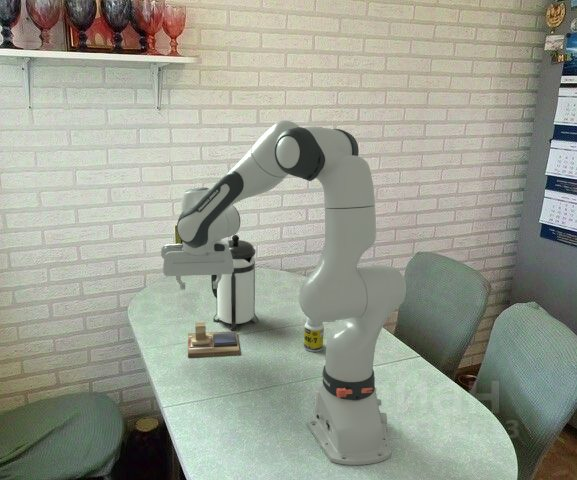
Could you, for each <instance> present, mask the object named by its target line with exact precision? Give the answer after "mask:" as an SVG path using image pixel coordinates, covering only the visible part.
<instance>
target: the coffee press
mask: <svg viewBox="0 0 577 480" xmlns="http://www.w3.org/2000/svg"><path fill="white" fill-rule="evenodd" d="M228 242H229V249H230V251H231V254H232V258H233V265H234V271H233V273H232V274H222V278H221V280H220V281H219V283H218V288H217V289H213V281H216V279H217V275H210V278H211V281H210V283H211V290H212V294H213V296H214V298H215V299H216V314H214V316H213V322H218V321H221V322H223V323H226V324H231V327H230V330H231V331H237V330H236V329H237V328H236V327H237V325H239V324H245V323H247V322H249V321H251V322H253V323H254V324H255V323H256V324H257V323H258V322H259V317H258V316H257V315H256V313H255V312H256V311H255V310H256V308H255V307H256V306H255V304H256V297H255V296H256V287H255V286H256V261H255V255H256V249H255V247H254V245H253V244H252V243H251V242H249V241H246V240H240V236H239V235H237V234H235V235H232V236H231V240H228ZM216 316H217V319H215V318H216ZM253 317H254V318H255V319H256V320H255V319H253Z"/></svg>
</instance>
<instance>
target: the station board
mask: <svg viewBox="0 0 577 480" xmlns="http://www.w3.org/2000/svg"><path fill="white" fill-rule="evenodd" d="M206 333H209V338H210V344H209V345H205V346H193V345H192V334H196V332H190V333H187V357H188V358H198V357H213V356H215V357H216V356H217V357H219V356H230V355H231V356H234V355H240V353H241V351H240V345H239V340H238V333H237V330H235V331H232V330H231V331H212V332H211V331H209V332H207V331H206Z"/></svg>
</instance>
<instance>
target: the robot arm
mask: <svg viewBox="0 0 577 480" xmlns="http://www.w3.org/2000/svg"><path fill="white" fill-rule="evenodd" d="M359 149H360V148H359V144H358V142H357V140H356V138H355V137H354V136H353V135H352V133H350V132H348V131H346V130H343V129H340V128H328V127H322V126H307V127H306V126H305V127H301V126H299V125H298V124H297V123H295V122H293V121H291V120H287V119H286V120H284V119H283V120H279V121H277V122H275V123H274V124H273V125H272V126H270V127H269V128H268V129H267V130H266V131H265V132H263V133H262V135H261V136H260V137H259V138H258V139H257V140H256V141H255V143H254V144H253V145H252V146H251V147H250V149H249V150H248V151H247V152H246V153H245V155H244V156H243V157H242V158H240V160H239V161H238V162H237V163H236V164H235V165H234V166H233V167H232V168H231V169H230V170H229V171H228V172H226V174H225V175H224V176H223V177H222V178H220V179H219V180H218V181H217V182H216V183H215V184H214V186H212V187H211V188H209V187H194V188H190V189H187V190H185V191H184V192H183V194H182V199H181V213H180V215H179V216H178V219H177V223H176V232H177V236H178V237H179V240H181V241H182V242H181V243H173V244H171V243H168V244H166V245H164V246H162V248H161V251H160V252H161V253H160V255H161V256H160V257H161V258H162V259H163V266H162V272H163V273H162V274H163V275H164V276H165V277H175V280H176V282H177V283H178V285H179V289H180V291H184V290H185V291H186V282H185V281H184V282H183V281H182V277H183V276H185V277H188V276H189V277H190V276H211V275H217V279H216V281H213V289H217V288H218V283H219V281H220V280H221V278H222V274H232V273H233V271H234V265H233V258H232V254H231V251H230V249H229V242H228V241H229V240H228V238H230V237H233V236H234V235H237V233H238V232H239V230H240V227H241V215H240V212H239V211H238V209H237V208H236V207H235V204H236V203H238V202H240V201H243V200H245V199H247V198H252V197H254V196H257V195H261V194H264V193H267V192H270V191H271V190H273V189H274V188H275V187H277V186H278V185H279V184H281V182H282V181H284V180H285V178H287V176H288V175H289V176H293V177H296V178H300V179H303V180H306V181H308V182H312V181H314V180H315V179H316V180H317V181H319V182H320V183H321V186H322V188H323V194H324V195H323V196H324V199H323V201H324V202H323V203H324V228H325V229H324V243H323V245H324V246H323V249H322V252H321V255H320V257H319V260H318V262H317V264H316V266H315V268H314V269H313V270H312V272H311V273H310V275H308V276H307V277H306V278H305V279H304V281H303V282H302V284H301V285H300V288H299V292H298V302H299V306H300V309H301V310H302V312H303V314H304V315H305V316H306V318H307V317H308V318H309V319H310V320H312V321H318V322H323V323H334V322H339V321H340V323H339V324H338V325H337V326H336V327H334V328H333V329H332V331H330V333H329V334H328V337H327V338H326V344H325V362H324V363H325V364H324V365H323V367H322V368H323V369H322V370H323V371H322V375H321V377H322V384H321V386H320V387H319V388H318V390H317V391H316V392H315V397H314V406H313V407H314V408H313V415H312V416H310V417H309V418H308V419H307V421H306V426H307V427H308V429H309V430H310V432H311V433H312V435H313V436H314V438H315V439H316V441H317V442H318V444H319V445H320V447H321V449H322V450H323V452H324V454H326V456H327V458H328V459H329V460H330V462H333V463H335V464H339V465H346V466H348V465H349V466H356V465H357V466H359V465H368V464H369V465H370V464H375V463H376V464H377V463H379V462H383V461H385V460H387V459H389V458H390V457H392V450H391V445H390V439H389V435H388V431H387V426H386V424H387V423H388V415H387V413H386V412H381V410H380V408H379V406H382V399H378V395H377V387H376V385H375V383H376V376H375V370H374V362H375V361H374V359H375V352H376V345H377V341H378V339H379V336H380V333H381V332H382V329H383V327H384V325H385V324H386V323H387V320H388V319H389V318H390V316H391V315H392V313H393V312H394V311H395V310H397V308H398V307H400V305H402V304H403V302H404V301H405V299H406V294H407V285H406V279H405V278H404V276H403V274H402V273H401V271H400V270H399V269H398V268H396V267H395V266H392V265H391V266H390V265H384V264H383V265H380V264H372V265H365V266H360V267H358V264H359V261H360V260H361V258H362V256H363V255H364V254H365V252H367V251H368V250H369V249H370V248H371V247H373V245H374V244H375V241H376V239H377V225H376V224H377V222H376V219H377V218H376V216H377V215H376V201H375V200H376V197H375V196H376V195H375V189H374V183H373V175H372V172H371V168H370V164H369V163H368V162H367V160H366V159H364V158H362V157H361V156H359V153H360V151H359Z"/></svg>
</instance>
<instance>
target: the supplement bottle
mask: <svg viewBox="0 0 577 480" xmlns="http://www.w3.org/2000/svg"><path fill="white" fill-rule="evenodd" d="M305 321H306V322H305V323H304V331H303V332H304V334H303V348H304V350H306V351H308V352H311V353H315V352H316V353H317V352H321V350H323V348H324V332H325V330H324V329H325V325H324V322H318V321H312V320H310V319H309V318H308V317H307V316H306V319H305Z"/></svg>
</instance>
